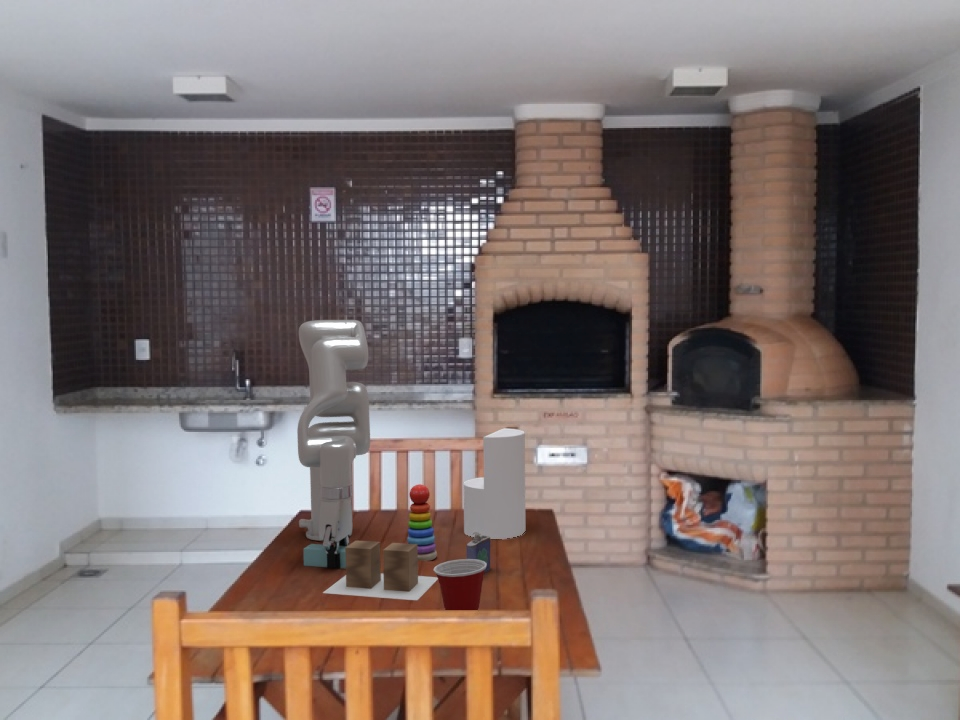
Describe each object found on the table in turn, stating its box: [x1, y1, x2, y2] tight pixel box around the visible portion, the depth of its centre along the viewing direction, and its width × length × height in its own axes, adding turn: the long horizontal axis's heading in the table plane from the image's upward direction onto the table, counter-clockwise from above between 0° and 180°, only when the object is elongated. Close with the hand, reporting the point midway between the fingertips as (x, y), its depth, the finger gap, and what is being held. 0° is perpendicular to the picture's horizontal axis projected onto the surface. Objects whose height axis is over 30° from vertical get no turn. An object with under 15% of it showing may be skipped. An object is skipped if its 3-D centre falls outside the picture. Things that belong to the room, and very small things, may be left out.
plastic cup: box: [433, 558, 487, 611], centre depth 180 cm, size 11×11×12 cm
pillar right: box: [382, 542, 419, 592], centre depth 200 cm, size 6×6×9 cm
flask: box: [466, 532, 491, 574], centre depth 209 cm, size 9×3×11 cm, turn 151°
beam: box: [303, 543, 347, 569], centre depth 217 cm, size 16×4×5 cm, turn 75°
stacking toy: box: [407, 483, 438, 562], centre depth 225 cm, size 8×8×19 cm
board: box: [322, 572, 439, 601], centre depth 202 cm, size 22×16×1 cm
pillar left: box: [345, 539, 382, 589], centre depth 202 cm, size 6×6×9 cm
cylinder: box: [463, 427, 527, 540], centre depth 249 cm, size 17×17×28 cm
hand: (338, 565), depth 217 cm, fingers closed on beam, 4 cm apart
